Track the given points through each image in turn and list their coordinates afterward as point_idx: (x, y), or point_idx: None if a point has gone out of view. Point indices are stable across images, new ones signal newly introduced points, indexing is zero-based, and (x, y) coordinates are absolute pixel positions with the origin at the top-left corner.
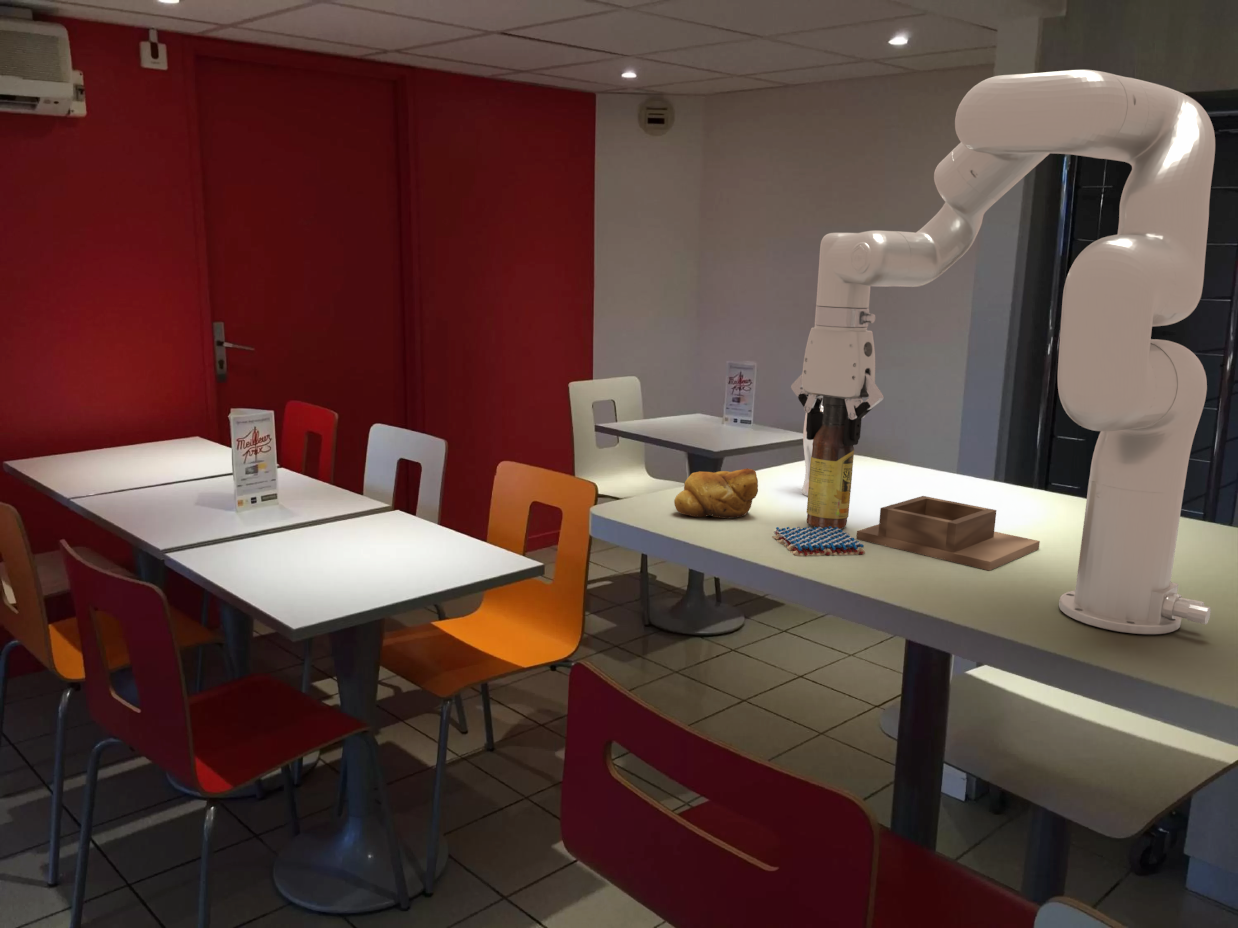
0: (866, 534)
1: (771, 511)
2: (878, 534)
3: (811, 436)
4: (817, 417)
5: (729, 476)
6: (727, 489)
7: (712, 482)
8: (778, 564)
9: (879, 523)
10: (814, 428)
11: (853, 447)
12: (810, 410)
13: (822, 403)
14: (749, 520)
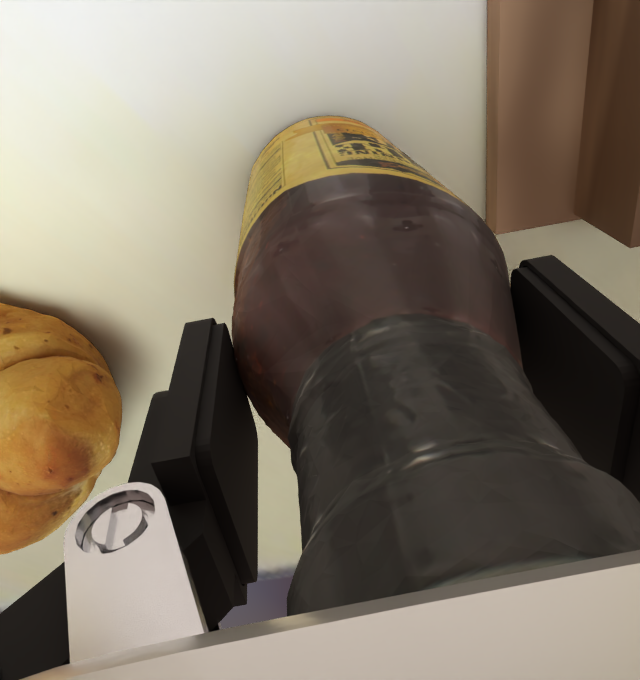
0: (531, 226)
1: (48, 208)
2: (575, 214)
3: (255, 442)
4: (238, 505)
5: (39, 494)
6: (84, 481)
7: (47, 529)
8: None
9: (596, 226)
10: (249, 459)
11: (496, 245)
12: (219, 624)
13: (186, 564)
14: (142, 357)
